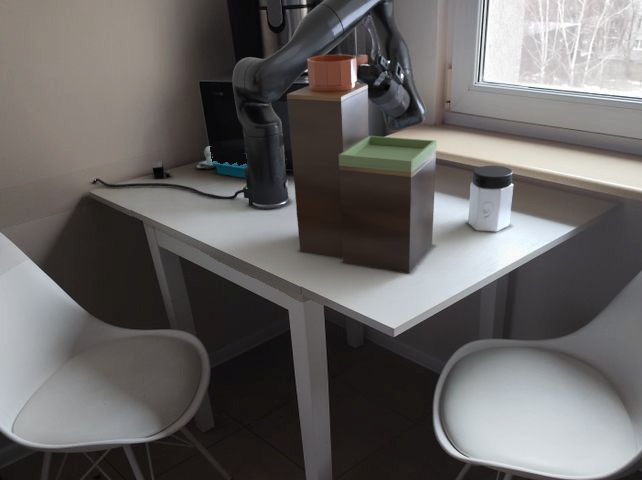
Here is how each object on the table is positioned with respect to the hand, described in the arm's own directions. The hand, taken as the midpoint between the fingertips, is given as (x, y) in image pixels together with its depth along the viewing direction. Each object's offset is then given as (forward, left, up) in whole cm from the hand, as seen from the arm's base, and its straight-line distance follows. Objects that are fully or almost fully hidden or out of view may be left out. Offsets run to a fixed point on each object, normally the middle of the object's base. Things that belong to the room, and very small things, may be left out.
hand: (356, 57), depth 123 cm
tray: (+10, -16, -15) cm, 24 cm away
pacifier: (-56, +36, -35) cm, 75 cm away
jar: (+28, +3, -35) cm, 45 cm away
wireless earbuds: (-66, +26, -35) cm, 79 cm away
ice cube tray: (-41, +33, -35) cm, 63 cm away
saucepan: (-1, -6, -3) cm, 7 cm away
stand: (+4, -15, -34) cm, 38 cm away
